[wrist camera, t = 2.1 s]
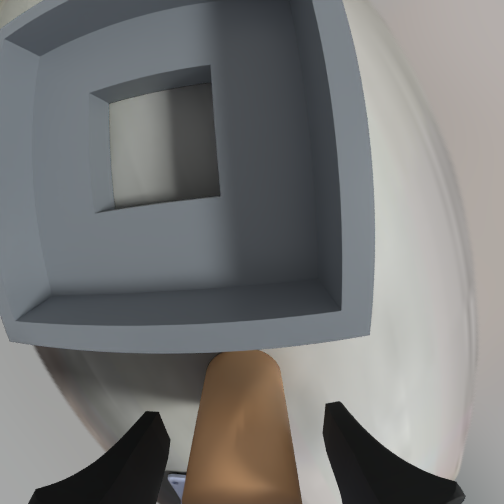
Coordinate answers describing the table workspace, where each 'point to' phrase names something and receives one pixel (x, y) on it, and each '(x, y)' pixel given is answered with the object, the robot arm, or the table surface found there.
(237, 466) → the peg
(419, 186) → the table surface
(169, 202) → the box
